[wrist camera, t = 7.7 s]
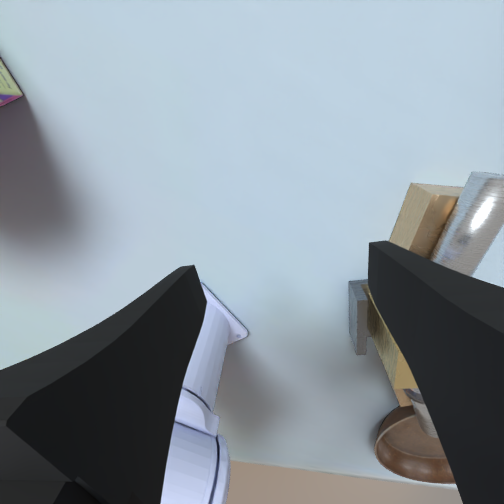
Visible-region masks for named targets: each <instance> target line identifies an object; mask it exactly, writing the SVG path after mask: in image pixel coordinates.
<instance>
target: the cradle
mask: <svg viewBox="0 0 504 504" xmlns="http://www.w3.org/2000/svg"><path fill="white" fill-rule="evenodd" d="M369 295H371V293H370V290H369V287H368V279H367V280H357V281H349V333H350V336H351V339H352V342H353V345H354V348H355V351H356V354H357V355H366V340H367V337H371V334H370V332H369V330H368V311H369Z"/></svg>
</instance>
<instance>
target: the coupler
mask: <svg viewBox="0 0 504 504" xmlns="http://www.w3.org/2000/svg"><path fill="white" fill-rule="evenodd" d="M368 330H369V332H370V334H371V337H372V339H373V341H374V344H375V346H376V348H377V351H378V353H379V355H380V358H381V360H382V362H383V365H384V367H385V370H386V372H387V374H388V377H389V379H390V381H391V384H392V386H393V388H394V389H409V388H418V386H417V384H416V382H415V379H414V377H413V375H412V372H411V370H410V368H409V366H408V364H407V362H406V360H405V358H404V356H403V354H402V353H401V351H400V349H399V347H398V345H397V344H396V342H395V340H394V338H393V337H392V335H391V333H390V331H389V329H388V328H387V326H386V324H385V322H384V320H383V319H382V317H381V315H380V313H379V311H378V310H377V308H376V305H375V303H374V300H373V298H372V295H369V311H368Z"/></svg>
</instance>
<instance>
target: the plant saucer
mask: <svg viewBox="0 0 504 504" xmlns="http://www.w3.org/2000/svg"><path fill="white" fill-rule="evenodd" d="M374 451H375V455H376V458H377V459H378V461H379V462H380V463H381V465H382V466H384V467H385V468H386V469H388V470H389V471H391V472H393V473H395V474H397V475H400V476H402V477H405V478H409V479H412V480H417V481H422V482H429V483H441V484H456V482H455V479H454V477H453V474H452V471H451V468H450V466H449V463H448V461H447V458H446V455H445V453H444V450H443V448H442V445H441V443H440V440H439V438H434V437H431V436H429V435H427V434H426V433H425V432H423V430H422V429H421V428H420V426H419V423H418V420H417V417H416V414H415V411H414V408H413V405H410V406H404V407H400V406H399V407H398V408H396V409H395V410H393V411H392V412H391V413H390V414H389V415H388V416H387V417H386V419H385V420H384V422H383V424H382V425H381V427H380V430H379V432H378V435H377V438H376V442H375V448H374Z"/></svg>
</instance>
